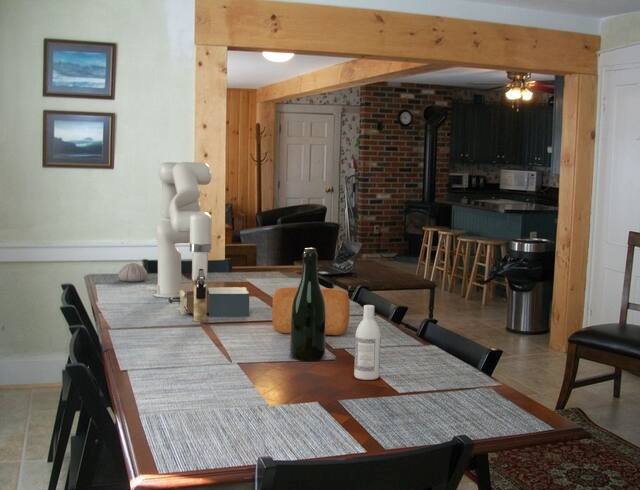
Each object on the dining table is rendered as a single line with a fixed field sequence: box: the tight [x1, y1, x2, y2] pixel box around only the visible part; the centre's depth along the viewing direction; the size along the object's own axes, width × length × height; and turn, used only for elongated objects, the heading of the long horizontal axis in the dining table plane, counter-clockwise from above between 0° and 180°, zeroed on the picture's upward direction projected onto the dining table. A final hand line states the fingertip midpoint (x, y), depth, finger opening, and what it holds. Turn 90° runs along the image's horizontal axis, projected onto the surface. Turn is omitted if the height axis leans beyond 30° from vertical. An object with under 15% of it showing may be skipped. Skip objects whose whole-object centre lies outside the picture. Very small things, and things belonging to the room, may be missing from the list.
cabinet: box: [207, 286, 250, 318], centre depth 303 cm, size 15×15×9 cm
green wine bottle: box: [289, 247, 326, 362], centre depth 238 cm, size 10×10×33 cm
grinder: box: [193, 283, 208, 323], centre depth 287 cm, size 5×5×13 cm
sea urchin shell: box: [117, 262, 149, 283], centre depth 372 cm, size 13×14×8 cm
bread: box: [271, 286, 351, 336], centre depth 277 cm, size 16×26×17 cm
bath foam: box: [353, 304, 382, 381], centre depth 219 cm, size 7×7×20 cm
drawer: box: [168, 289, 209, 315], centre depth 300 cm, size 18×13×7 cm
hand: (200, 296), depth 287 cm, fingers open, 8 cm apart
